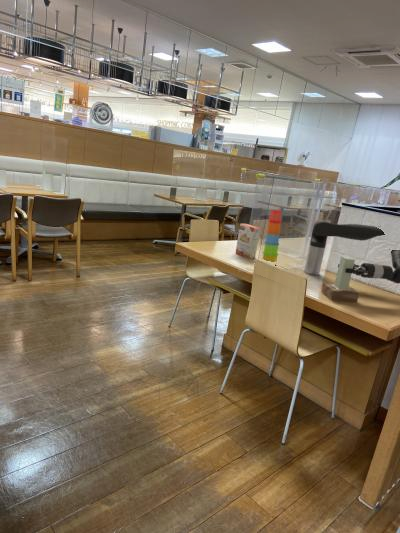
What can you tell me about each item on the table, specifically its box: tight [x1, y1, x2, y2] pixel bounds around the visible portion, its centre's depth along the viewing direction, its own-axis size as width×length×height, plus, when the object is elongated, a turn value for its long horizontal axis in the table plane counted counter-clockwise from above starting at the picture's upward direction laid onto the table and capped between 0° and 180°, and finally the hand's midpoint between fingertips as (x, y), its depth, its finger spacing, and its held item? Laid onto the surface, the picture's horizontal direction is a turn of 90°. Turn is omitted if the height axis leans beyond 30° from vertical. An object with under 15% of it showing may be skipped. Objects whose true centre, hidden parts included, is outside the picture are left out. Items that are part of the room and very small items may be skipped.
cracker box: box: [235, 223, 261, 260], centre depth 259 cm, size 14×6×21 cm, turn 37°
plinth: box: [321, 282, 360, 303], centre depth 200 cm, size 12×14×5 cm
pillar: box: [333, 255, 356, 290], centre depth 197 cm, size 5×5×16 cm
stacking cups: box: [262, 209, 282, 262], centre depth 243 cm, size 10×10×35 cm
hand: (342, 268), depth 196 cm, fingers open, 8 cm apart
